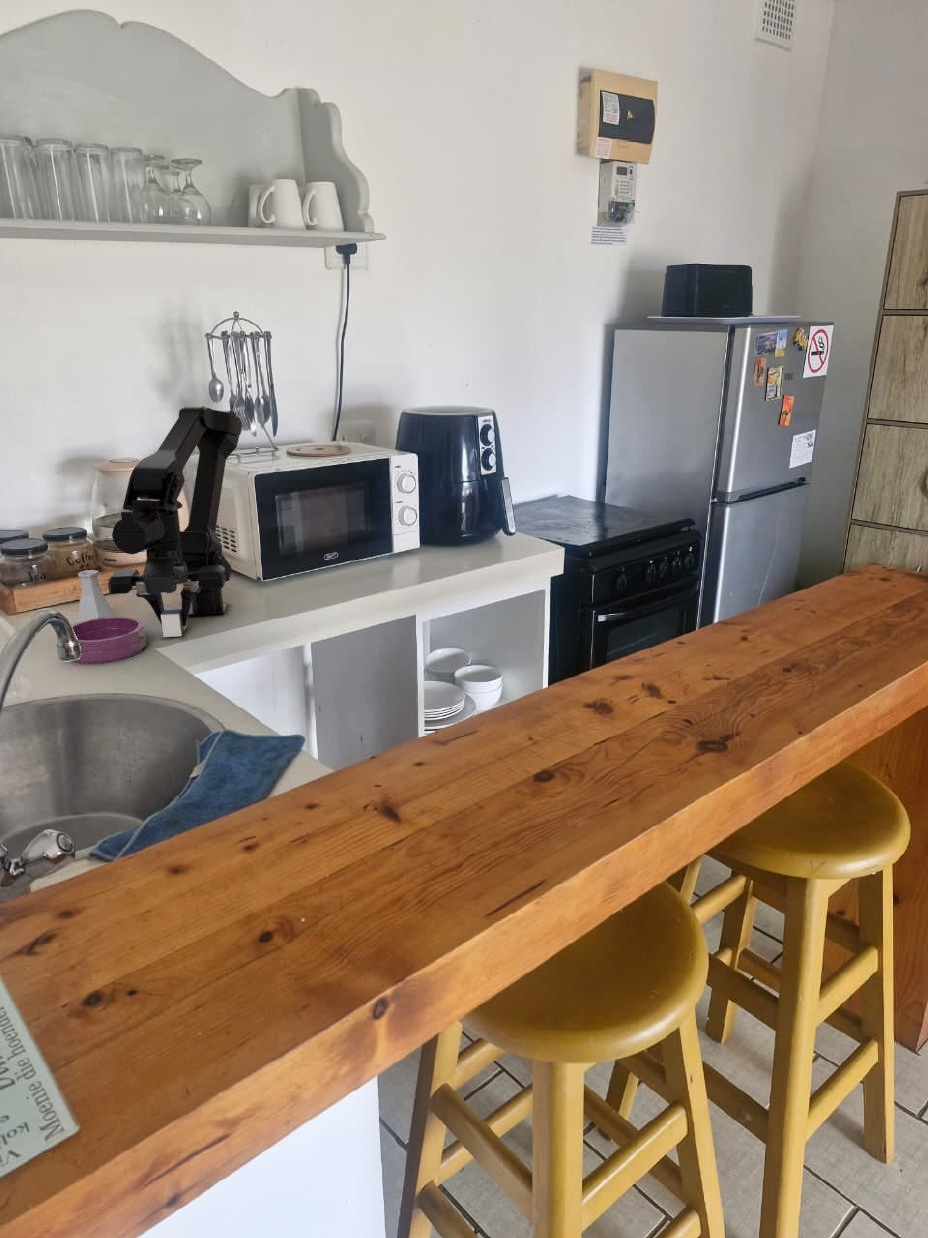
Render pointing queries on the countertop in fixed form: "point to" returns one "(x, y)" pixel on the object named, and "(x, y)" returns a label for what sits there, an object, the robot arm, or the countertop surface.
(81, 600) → the flask
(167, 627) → the eraser
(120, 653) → the bowl
